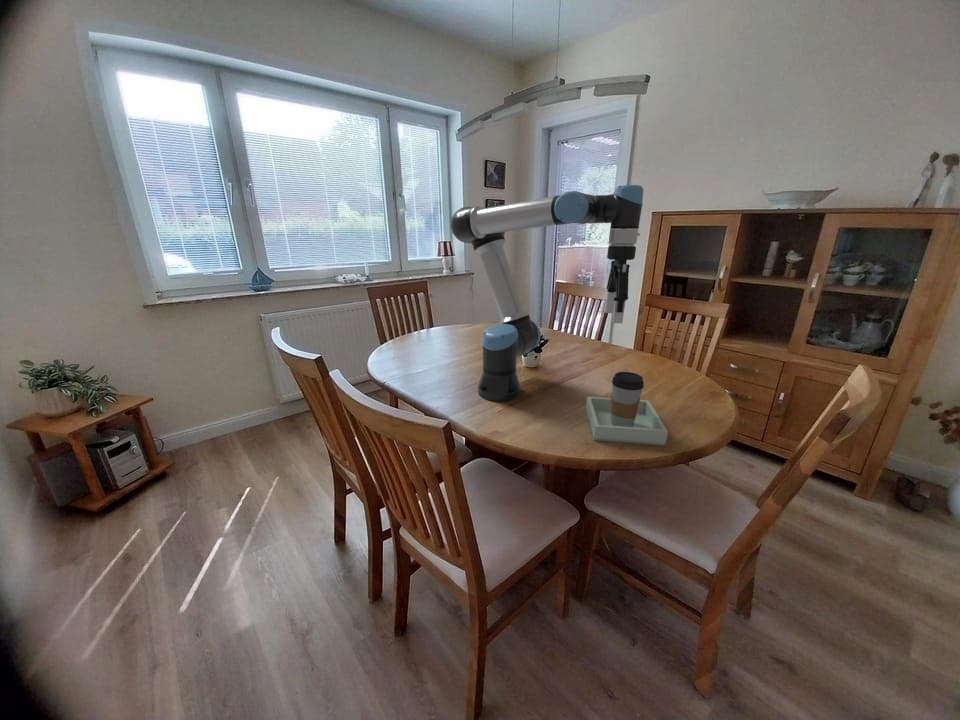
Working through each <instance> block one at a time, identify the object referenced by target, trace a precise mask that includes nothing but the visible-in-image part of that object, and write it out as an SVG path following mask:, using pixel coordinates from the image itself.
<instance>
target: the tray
mask: <svg viewBox="0 0 960 720" xmlns="http://www.w3.org/2000/svg"><path fill="white" fill-rule="evenodd" d="M585 405H586V406H585V411H586V415H587V420H588V423H589V427H590V430H591V431H590V432H591V436H592V440H593V441H595V442H596V441H598V442H607V443H608V442H609V443H611V442H612V443H623V444H624V443H625V444H633V445H635V444H637V445H649V446H662V447H666V444H667V439H668V435H669V430H668V429H667V428H666V426H665V424H664V423H663V421H662V419H661V418H660V417H659V415H658V413H657V411H656V410H655V408H654V407H653V405H652V404H651V402H650V401H649V400H648V399H647V400H646V399H640V402H639V406H638V410H637V414H636V418H635V421H634V425H633V426H632V427H624V426H613V425H612V424H611V421H610V417H611V413H610V412H611V397H600V396H599V397H597V396H586V404H585Z"/></svg>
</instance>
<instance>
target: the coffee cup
mask: <svg viewBox="0 0 960 720" xmlns="http://www.w3.org/2000/svg"><path fill="white" fill-rule="evenodd" d="M643 379H644V377H642V375H640V374H638V373H635V372H632V371H631V372H630V371H618V372H616V373H615V374H614V376H613V377H612V381H611V384H612V386H611V388H612V389H611V397H610V398H611V412H610V413H611V417H610V421H611V424H612V425H613V426H624V427H632V426H633V425H634V421H635V418H636V414H637V410H638V406H639V402H640V400H641V395H642V393H643V392H642V391H643V388H644V380H643Z"/></svg>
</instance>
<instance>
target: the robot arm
mask: <svg viewBox="0 0 960 720" xmlns="http://www.w3.org/2000/svg"><path fill="white" fill-rule="evenodd" d="M643 197H644V188H643V186H642V185H639V184H625V185H618V186H616V187H615V188H614V192H613V193H611V194H602V195H600V194H598V195H597V194H596V195H593V194H589V193H588V194H587V193H584V192H580V191H577V190H571V191H565V192H563V193H562V194H559V195H552V196H548V197H542V198H535V199H531V200H525V201H520V202H513V203H508V204H502V205H495V206H489V207H482V206H480V205H479V206H477V205H475V206H464V207H461V208H459V209H458V210H456V211H455V212H454V214H453V215H452V218H451V222H450V228H451V232H452V234H453V235H454V237H455V239H457V240H459V242H460V243H461V242H462V243H464V244H471V245H472V248H473V251H474V253H475V254H478V255H480V258H481V261H482V264H483V268H484V271H485V273H486V277H487V280H488V282H489V285H490V289H491V292H492V295H493V298H494V301H495V304H496V308H497V310H498V313H499V316H500V320H499V322H498V324H493V325H490V326H488V327H487V328H485V329H484V330H483V333H482V340H481V341H482V342H481V343H482V344H481V345H482V373H481V376H480V379H479V383H478V385H477V393H478V396H480V397H481V398H483V399H485V400H487V401H494V402H506V401H510V400H511V401H512V400H516V399H517V398H518V397H520V396H521V392H522V391H521V390H522V386H521V383H520V379H519V376H518V373H517V363H518V362H517V360H518V358H520V357H522V356H523V355H525V354H528V353H531V352H532V351H533V350H534V349H535V348H536V347H537V346H538V345H539V343H540V341H541V329H540V327H539V325H538V324H537V323H536V322H535V321H533V320H531V317H530V313H528V312H526V311H525V310H524V309H523V305H522V303H521V300H520V296H519V293H518V290H517V287H516V283H515V280H514V277H513V274H512V271H511V268H510V265H509V263H508V262H509V261H508V259H507V256H506V252H505V249H504V245H505V242H506V239H505V234H506V232H515V231H522V230H529V229H535V228H536V229H537V228H545V227H551V226H552V227H553V226H562V225H563V226H564V225H569V224H581V225H586V224H610V229H609V234H608V235H609V237H608V244H609V246H608V247H607V256H606V258H607V259H608V260H611V262H610V263H611V264H610V270H609V274H608V275H609V276H608V279H607V283H606V284H607V285H606V290H607V291H606V292H607V293H606V299H605V300H606V301H605V310H604V313H605V314H612V320H611V323H612V324H623V322H624V315H625V306H626V301H628V300H629V273H630V266H631V265H630V264H627V261H631V260H634V259H635V258H636V252H637V250H636V249H637V247H636V246H635V245H636V244H637V243H638V242H637V241H638V237H640V235H641V233H640V232H639V228H640V222H641V216H642V215H641V214H642V208H643V204H644V203H643V201H644V200H643Z"/></svg>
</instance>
